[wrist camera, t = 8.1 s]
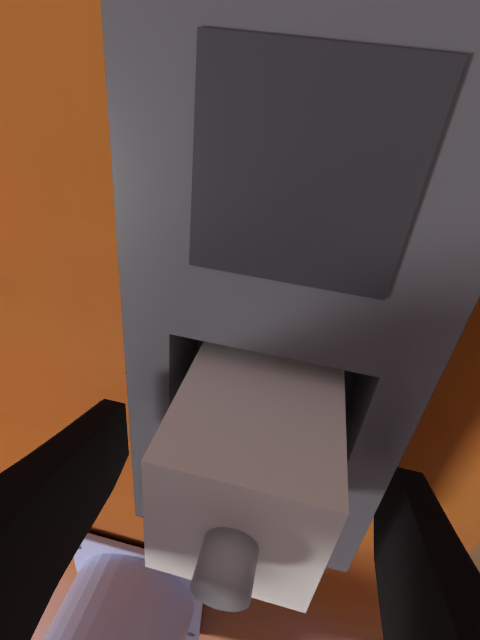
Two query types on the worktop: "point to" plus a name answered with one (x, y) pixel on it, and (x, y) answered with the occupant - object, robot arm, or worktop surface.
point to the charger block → (248, 479)
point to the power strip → (297, 203)
